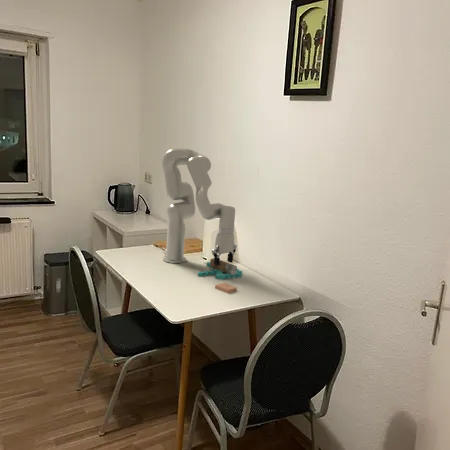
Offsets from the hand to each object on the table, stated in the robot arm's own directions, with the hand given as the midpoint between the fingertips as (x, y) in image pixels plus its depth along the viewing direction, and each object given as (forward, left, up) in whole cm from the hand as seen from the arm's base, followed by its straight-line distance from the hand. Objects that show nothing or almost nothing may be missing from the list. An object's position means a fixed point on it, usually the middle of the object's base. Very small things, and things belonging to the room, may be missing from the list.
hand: (223, 263), depth 232 cm
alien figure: (0, 0, -6) cm, 6 cm away
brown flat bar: (0, 0, -4) cm, 4 cm away
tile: (+14, -16, -5) cm, 22 cm away
